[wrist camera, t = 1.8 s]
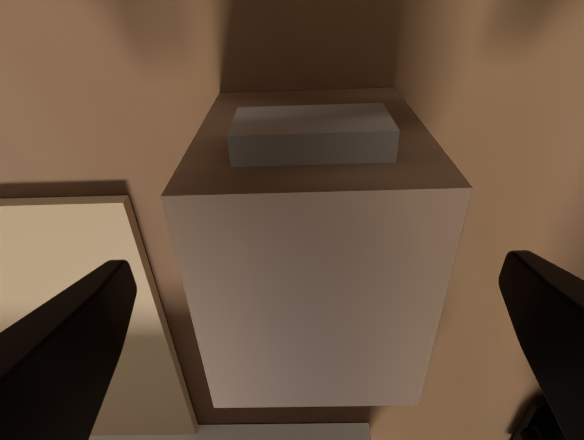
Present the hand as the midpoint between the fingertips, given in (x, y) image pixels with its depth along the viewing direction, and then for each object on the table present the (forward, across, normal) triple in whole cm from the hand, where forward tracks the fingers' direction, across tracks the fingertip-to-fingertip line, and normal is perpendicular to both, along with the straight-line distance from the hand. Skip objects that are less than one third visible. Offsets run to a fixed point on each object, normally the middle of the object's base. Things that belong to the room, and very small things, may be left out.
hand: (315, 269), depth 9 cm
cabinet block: (+4, 0, 0) cm, 4 cm away
